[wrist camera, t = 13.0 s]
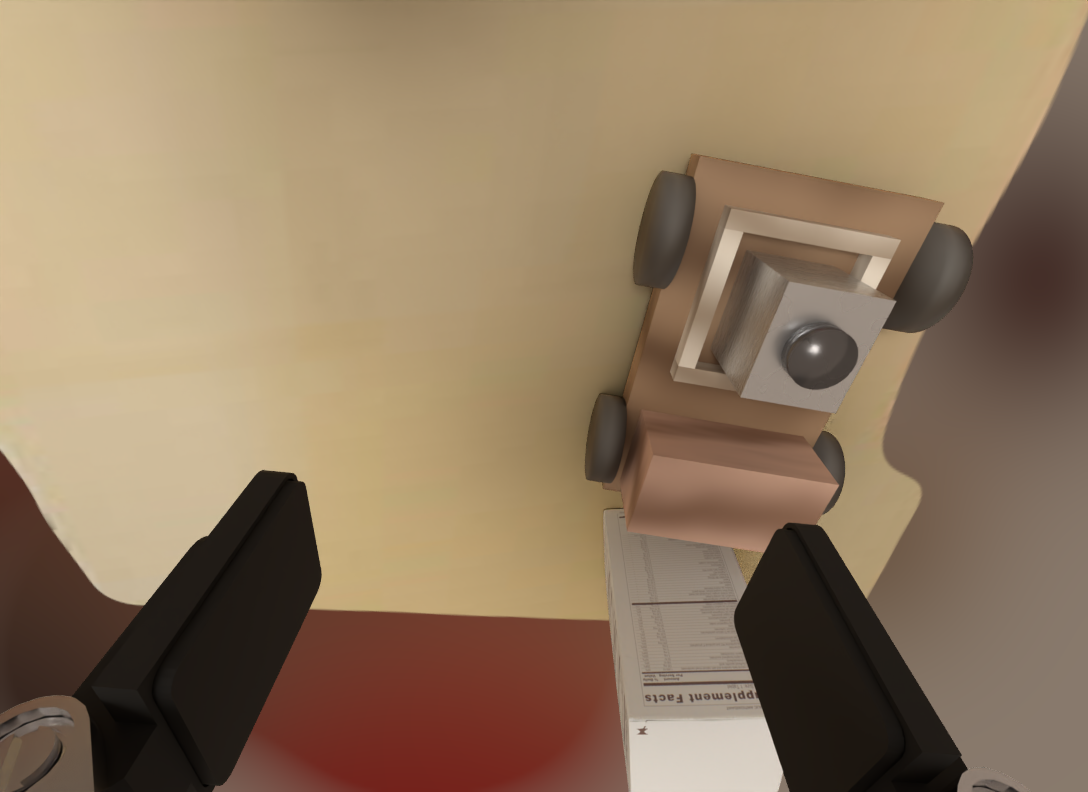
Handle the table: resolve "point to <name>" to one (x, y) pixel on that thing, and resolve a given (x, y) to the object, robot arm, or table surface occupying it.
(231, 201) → the table surface
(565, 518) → the table surface
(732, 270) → the chassis
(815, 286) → the block with dome knob
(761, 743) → the supplement box
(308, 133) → the table surface
